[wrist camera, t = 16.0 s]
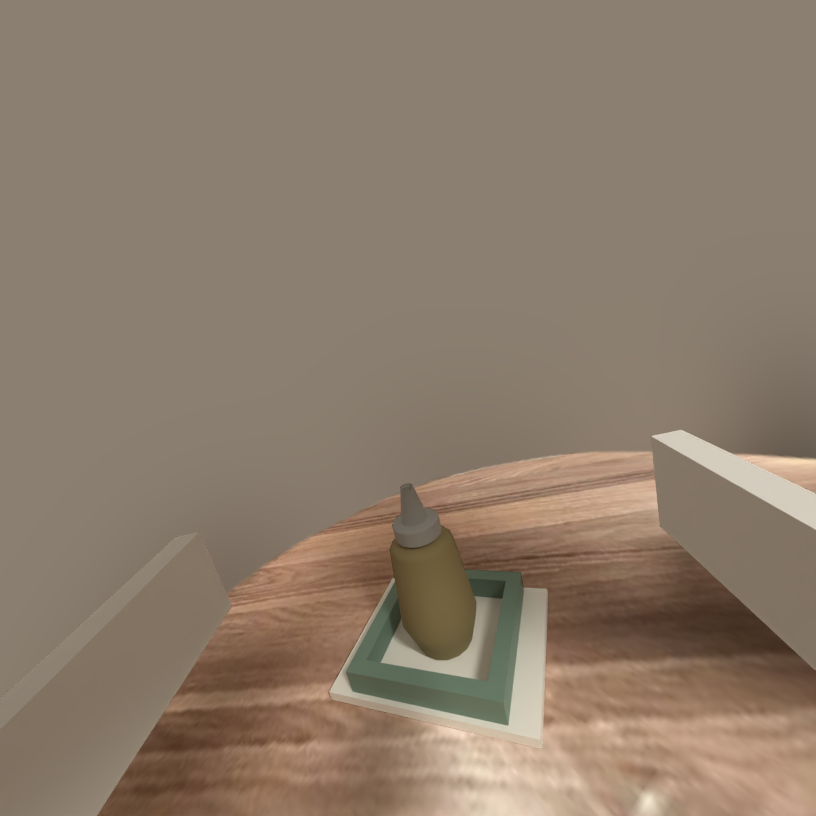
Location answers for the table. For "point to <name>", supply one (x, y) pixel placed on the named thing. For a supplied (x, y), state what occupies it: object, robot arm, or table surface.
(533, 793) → the table surface
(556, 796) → the table surface
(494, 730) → the collar stand
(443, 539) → the squeeze bottle
